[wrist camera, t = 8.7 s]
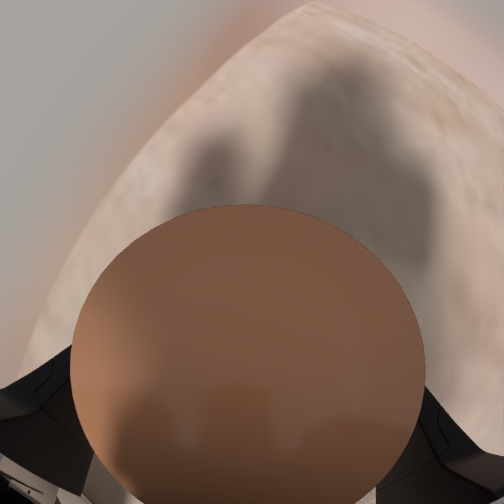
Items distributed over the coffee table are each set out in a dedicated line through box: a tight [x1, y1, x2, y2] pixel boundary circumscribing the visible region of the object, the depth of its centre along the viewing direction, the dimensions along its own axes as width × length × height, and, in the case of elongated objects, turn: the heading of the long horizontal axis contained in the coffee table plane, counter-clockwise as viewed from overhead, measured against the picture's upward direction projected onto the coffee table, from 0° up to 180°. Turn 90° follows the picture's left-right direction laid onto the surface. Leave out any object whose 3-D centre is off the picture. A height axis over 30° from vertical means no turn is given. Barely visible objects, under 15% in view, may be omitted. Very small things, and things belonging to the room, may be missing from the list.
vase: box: [70, 205, 425, 504], centre depth 10 cm, size 6×6×13 cm
